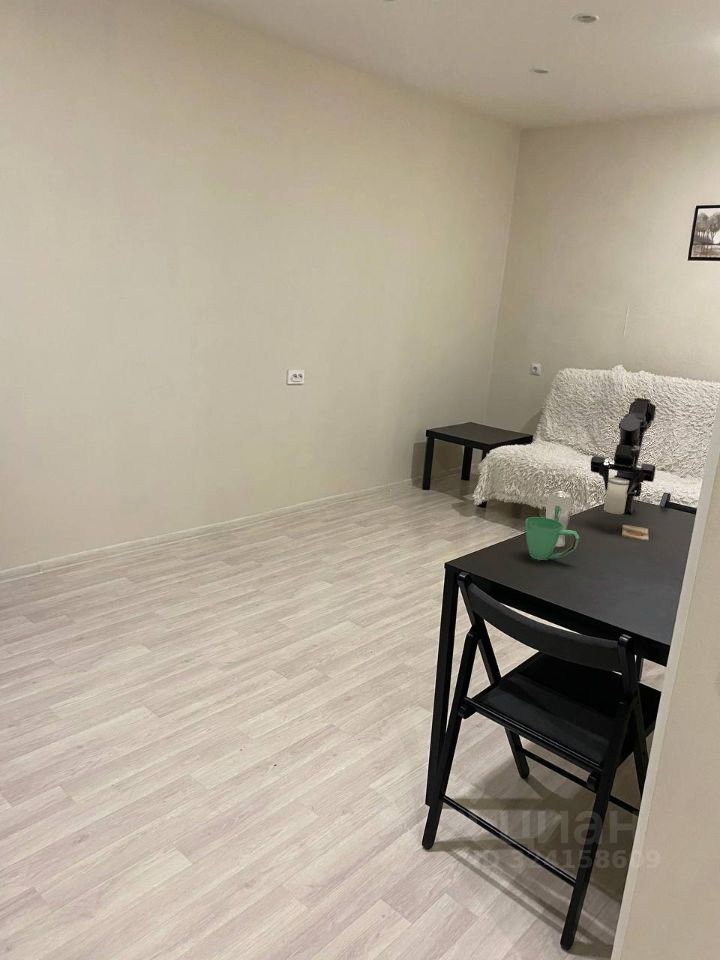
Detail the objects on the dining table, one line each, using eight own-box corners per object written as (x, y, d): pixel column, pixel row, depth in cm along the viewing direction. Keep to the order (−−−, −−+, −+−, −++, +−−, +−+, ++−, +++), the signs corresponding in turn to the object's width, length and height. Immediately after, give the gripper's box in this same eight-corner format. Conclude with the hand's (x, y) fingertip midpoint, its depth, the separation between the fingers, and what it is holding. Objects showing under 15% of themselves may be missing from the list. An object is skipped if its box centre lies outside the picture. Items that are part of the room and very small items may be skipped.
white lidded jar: (603, 506, 228) (608, 476, 225) (623, 509, 226) (629, 478, 223) (603, 512, 222) (608, 480, 219) (624, 515, 220) (630, 483, 218)
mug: (515, 557, 196) (520, 522, 194) (527, 548, 205) (532, 514, 202) (569, 571, 189) (575, 535, 187) (579, 561, 197) (585, 526, 195)
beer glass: (542, 538, 215) (549, 489, 211) (566, 542, 213) (574, 492, 209) (540, 545, 208) (547, 494, 205) (565, 549, 206) (572, 498, 203)
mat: (622, 525, 233) (623, 523, 233) (647, 530, 231) (648, 527, 230) (622, 536, 222) (622, 533, 222) (648, 540, 220) (648, 538, 219)
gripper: (596, 430, 225) (584, 471, 218) (660, 439, 217) (650, 482, 211) (596, 450, 234) (585, 491, 227) (658, 460, 226) (648, 502, 220)
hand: (616, 491), depth 221 cm, fingers closed on white lidded jar, 6 cm apart
